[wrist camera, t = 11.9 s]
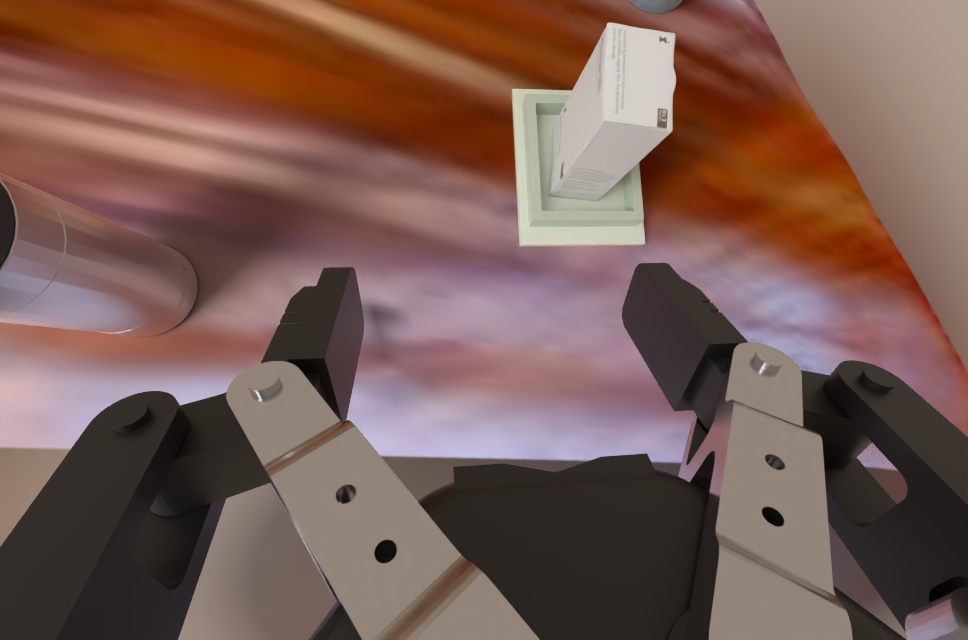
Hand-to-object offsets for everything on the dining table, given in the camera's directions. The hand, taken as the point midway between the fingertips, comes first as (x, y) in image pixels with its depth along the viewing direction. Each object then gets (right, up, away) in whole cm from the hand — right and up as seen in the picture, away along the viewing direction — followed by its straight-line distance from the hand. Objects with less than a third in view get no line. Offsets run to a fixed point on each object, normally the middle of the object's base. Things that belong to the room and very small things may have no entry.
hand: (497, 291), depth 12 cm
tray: (+10, +16, +34) cm, 39 cm away
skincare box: (+10, +16, +33) cm, 38 cm away
